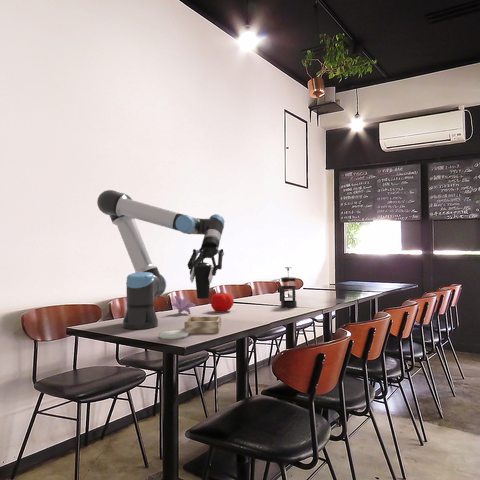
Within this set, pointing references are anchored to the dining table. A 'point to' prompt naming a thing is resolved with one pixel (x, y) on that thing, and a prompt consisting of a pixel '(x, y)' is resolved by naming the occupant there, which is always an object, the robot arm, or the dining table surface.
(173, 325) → the dining table surface
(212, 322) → the crate
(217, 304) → the tomato
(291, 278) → the french press
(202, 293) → the drinking cup
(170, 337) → the disc
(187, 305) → the lily
